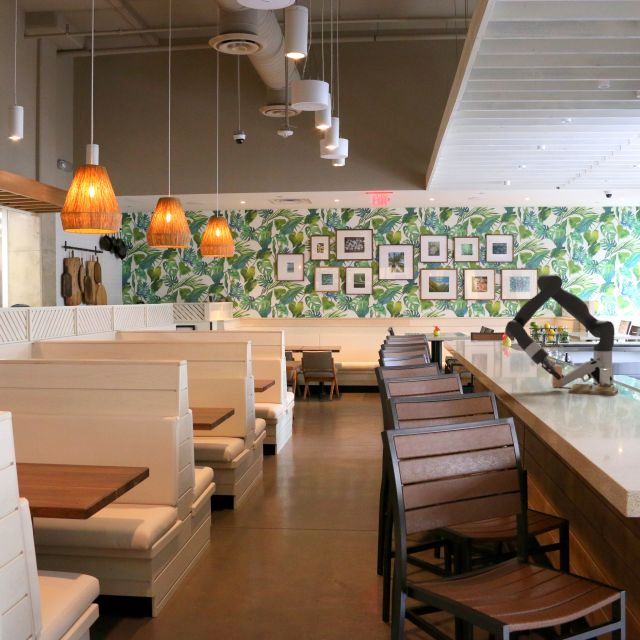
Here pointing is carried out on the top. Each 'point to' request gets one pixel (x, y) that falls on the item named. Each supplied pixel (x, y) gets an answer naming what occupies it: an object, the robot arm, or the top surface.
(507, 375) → the top surface
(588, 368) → the handgun
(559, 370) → the pin
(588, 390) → the wooden compartment tray
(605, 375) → the pin
